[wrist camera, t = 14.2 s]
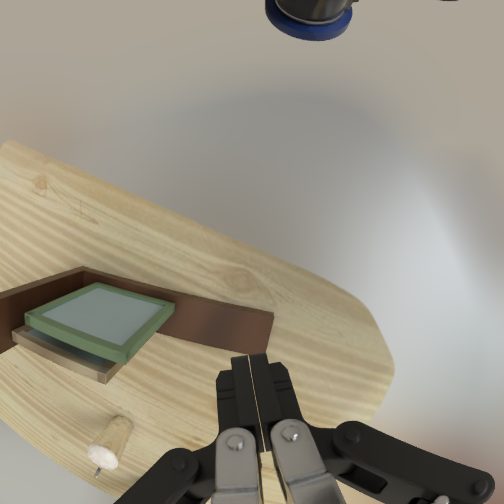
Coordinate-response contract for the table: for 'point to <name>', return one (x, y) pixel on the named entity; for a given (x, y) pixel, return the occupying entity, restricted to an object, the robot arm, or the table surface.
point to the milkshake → (110, 444)
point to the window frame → (186, 306)
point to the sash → (102, 320)
